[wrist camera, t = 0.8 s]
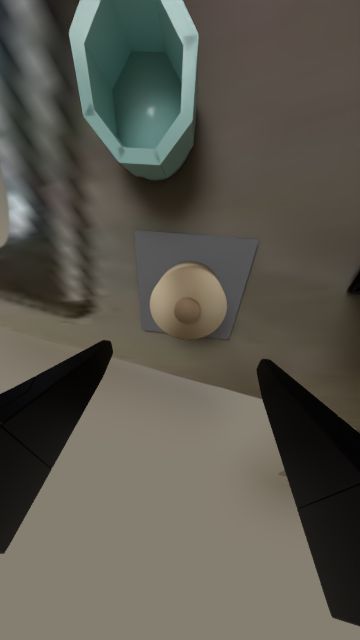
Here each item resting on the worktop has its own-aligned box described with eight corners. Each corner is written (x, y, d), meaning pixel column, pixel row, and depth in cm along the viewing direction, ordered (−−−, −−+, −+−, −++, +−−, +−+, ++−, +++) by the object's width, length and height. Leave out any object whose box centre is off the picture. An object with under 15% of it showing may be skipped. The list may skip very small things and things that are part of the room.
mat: (257, 239, 15) (259, 239, 14) (228, 337, 21) (228, 339, 20) (135, 229, 15) (133, 230, 15) (143, 328, 21) (142, 330, 21)
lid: (227, 264, 16) (237, 276, 12) (214, 322, 19) (219, 346, 15) (158, 258, 16) (146, 268, 12) (158, 317, 20) (149, 339, 16)
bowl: (201, 49, 10) (204, -50, 6) (191, 183, 13) (189, 166, 10) (103, 46, 10) (54, -50, 6) (118, 178, 13) (91, 161, 10)
